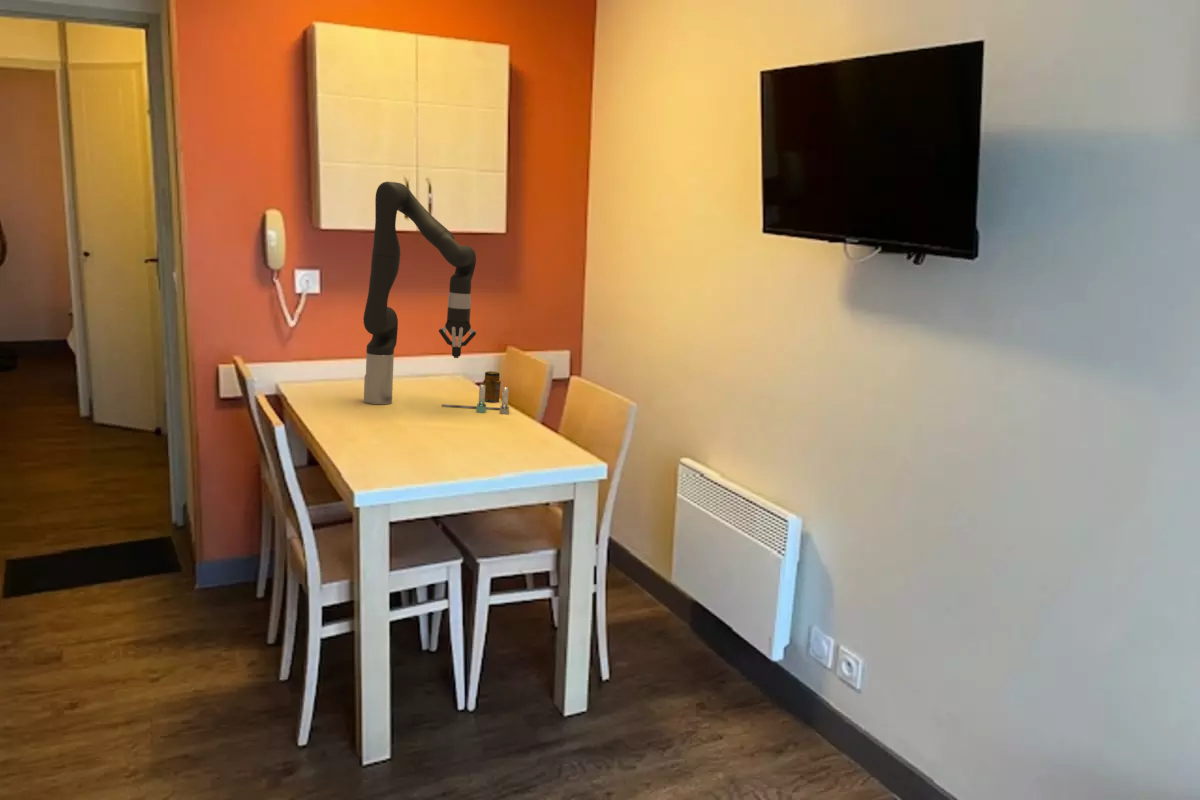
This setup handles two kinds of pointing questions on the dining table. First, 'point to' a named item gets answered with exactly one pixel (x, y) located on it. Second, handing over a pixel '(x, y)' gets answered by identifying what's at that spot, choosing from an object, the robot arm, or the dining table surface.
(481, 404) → the slider leg
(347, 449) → the dining table surface
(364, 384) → the robot arm
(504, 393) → the fixed leg
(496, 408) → the gauge board
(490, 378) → the condiment
